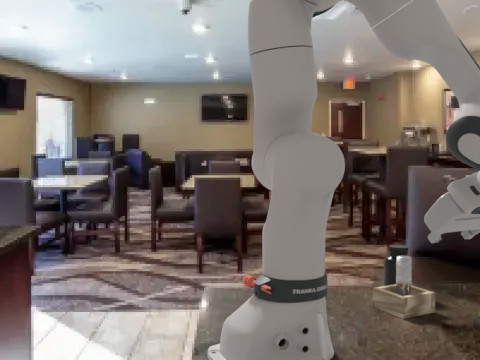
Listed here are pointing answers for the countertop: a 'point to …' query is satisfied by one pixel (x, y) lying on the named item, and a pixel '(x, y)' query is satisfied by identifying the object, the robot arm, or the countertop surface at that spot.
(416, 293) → the open wooden box
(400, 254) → the supplement bottle
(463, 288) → the countertop surface
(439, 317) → the countertop surface
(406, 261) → the metal coffee tamper
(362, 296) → the countertop surface
